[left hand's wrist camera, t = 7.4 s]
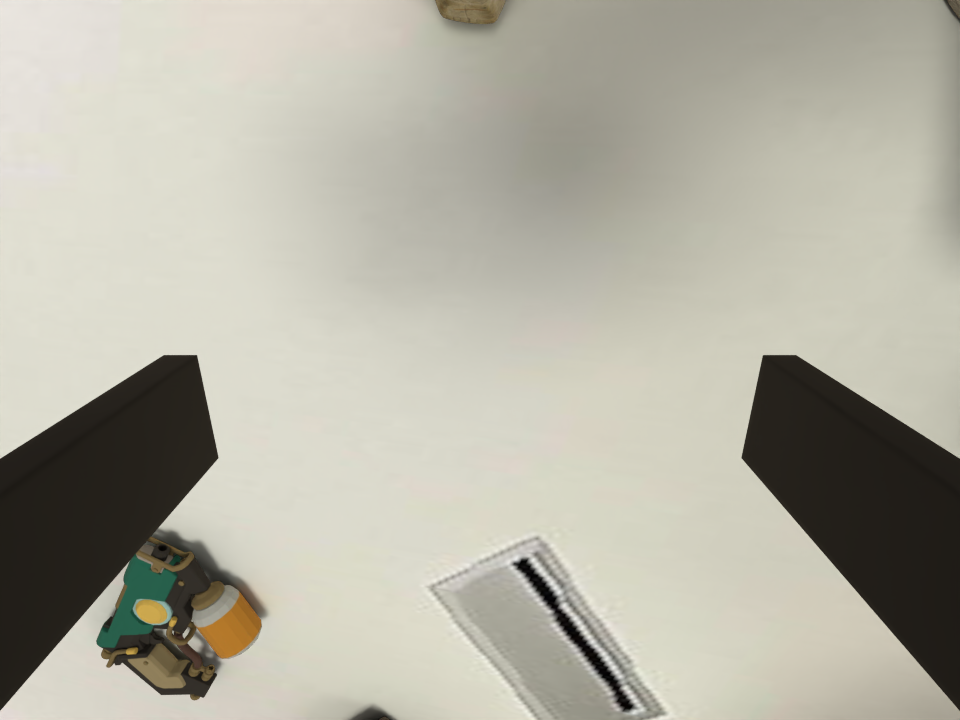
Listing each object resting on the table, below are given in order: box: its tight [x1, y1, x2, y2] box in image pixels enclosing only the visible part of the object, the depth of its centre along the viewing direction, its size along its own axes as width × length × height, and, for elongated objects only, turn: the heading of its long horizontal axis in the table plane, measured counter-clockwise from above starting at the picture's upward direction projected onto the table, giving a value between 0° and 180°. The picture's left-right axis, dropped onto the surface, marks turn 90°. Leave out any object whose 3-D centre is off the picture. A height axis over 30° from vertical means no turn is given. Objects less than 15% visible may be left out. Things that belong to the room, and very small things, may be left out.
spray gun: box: [96, 537, 262, 700], centre depth 48 cm, size 4×17×15 cm
